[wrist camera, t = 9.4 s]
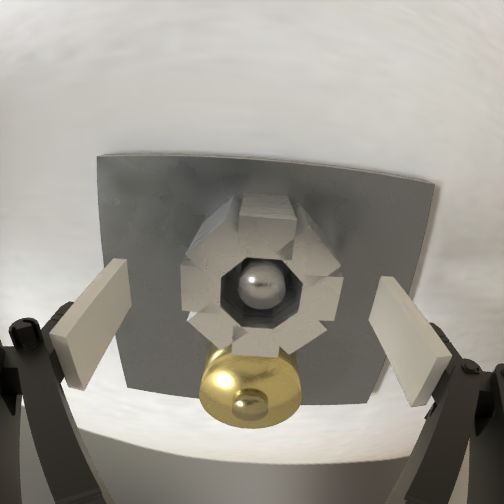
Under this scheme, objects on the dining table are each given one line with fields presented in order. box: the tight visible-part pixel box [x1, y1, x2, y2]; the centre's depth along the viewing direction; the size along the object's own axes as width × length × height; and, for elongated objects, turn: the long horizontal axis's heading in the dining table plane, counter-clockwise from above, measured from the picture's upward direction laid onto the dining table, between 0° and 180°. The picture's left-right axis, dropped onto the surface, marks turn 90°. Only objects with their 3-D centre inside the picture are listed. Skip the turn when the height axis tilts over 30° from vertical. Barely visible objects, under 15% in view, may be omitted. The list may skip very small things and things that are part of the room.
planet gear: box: [180, 193, 344, 358], centre depth 18 cm, size 8×8×5 cm
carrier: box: [97, 154, 434, 429], centre depth 20 cm, size 22×20×6 cm
